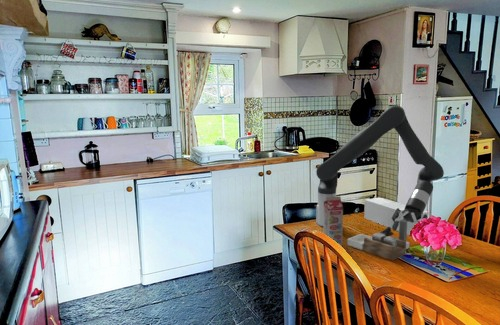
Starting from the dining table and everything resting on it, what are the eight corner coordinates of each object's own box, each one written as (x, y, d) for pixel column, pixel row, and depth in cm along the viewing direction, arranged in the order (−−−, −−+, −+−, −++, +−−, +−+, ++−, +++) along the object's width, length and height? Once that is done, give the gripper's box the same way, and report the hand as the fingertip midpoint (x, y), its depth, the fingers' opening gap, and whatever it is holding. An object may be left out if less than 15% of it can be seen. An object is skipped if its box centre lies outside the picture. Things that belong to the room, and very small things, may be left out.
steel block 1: (371, 243, 155) (372, 234, 155) (377, 241, 158) (377, 232, 157) (380, 246, 152) (380, 237, 151) (385, 244, 155) (385, 235, 154)
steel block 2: (383, 247, 151) (383, 238, 150) (388, 245, 153) (389, 235, 153) (392, 250, 148) (392, 240, 147) (397, 247, 150) (398, 238, 150)
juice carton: (323, 241, 166) (323, 195, 163) (337, 241, 167) (338, 194, 164) (327, 247, 160) (328, 198, 156) (342, 246, 160) (343, 198, 157)
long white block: (364, 218, 200) (364, 199, 199) (379, 215, 204) (379, 197, 203) (411, 236, 171) (412, 214, 170) (427, 233, 176) (428, 211, 174)
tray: (347, 245, 162) (347, 238, 161) (360, 239, 168) (360, 233, 168) (362, 250, 156) (362, 243, 155) (375, 244, 162) (376, 238, 161)
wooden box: (363, 250, 155) (364, 238, 155) (376, 245, 161) (377, 233, 161) (392, 260, 145) (393, 247, 144) (405, 254, 151) (406, 241, 150)
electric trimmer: (393, 233, 177) (393, 227, 177) (382, 242, 165) (383, 235, 164) (385, 231, 179) (385, 225, 179) (374, 240, 167) (374, 234, 167)
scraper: (395, 249, 156) (396, 221, 154) (402, 245, 160) (403, 218, 158) (401, 251, 154) (403, 223, 152) (409, 247, 158) (410, 220, 156)
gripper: (399, 194, 165) (384, 224, 159) (431, 200, 154) (416, 232, 148) (405, 203, 169) (390, 232, 163) (436, 209, 158) (422, 241, 152)
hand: (403, 232), depth 156 cm, fingers open, 8 cm apart
